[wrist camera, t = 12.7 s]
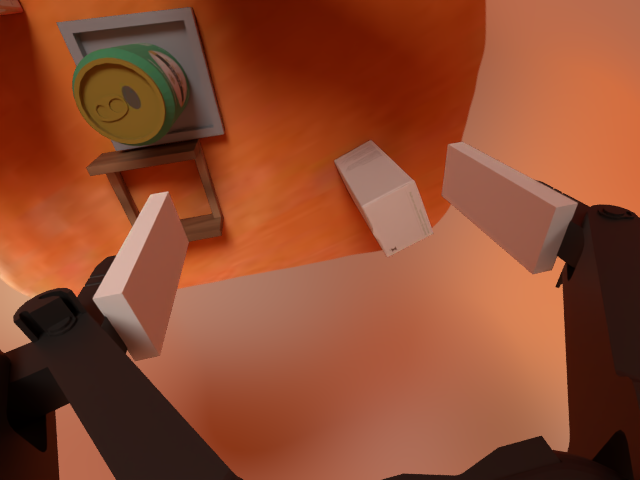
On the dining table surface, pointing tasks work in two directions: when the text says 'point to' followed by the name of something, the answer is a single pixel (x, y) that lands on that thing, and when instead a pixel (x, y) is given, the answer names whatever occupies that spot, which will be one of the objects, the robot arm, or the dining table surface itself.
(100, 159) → the caddy
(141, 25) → the tray
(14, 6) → the cracker box
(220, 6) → the dining table surface
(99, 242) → the dining table surface
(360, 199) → the skincare box
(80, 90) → the beverage can
